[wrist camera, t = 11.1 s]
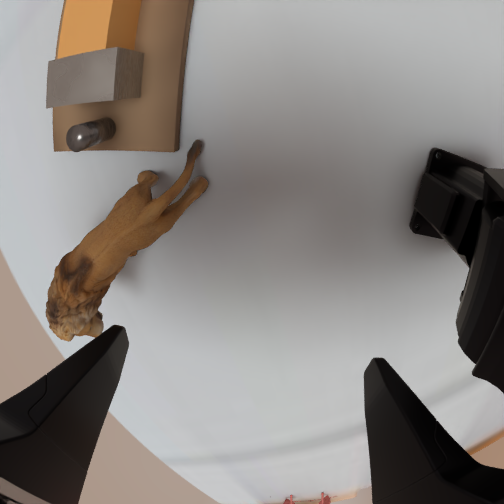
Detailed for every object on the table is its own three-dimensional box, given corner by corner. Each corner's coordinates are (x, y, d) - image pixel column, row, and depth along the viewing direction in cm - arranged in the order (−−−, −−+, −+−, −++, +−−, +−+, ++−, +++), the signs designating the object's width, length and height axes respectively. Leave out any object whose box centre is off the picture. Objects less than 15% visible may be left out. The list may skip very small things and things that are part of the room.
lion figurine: (127, 290, 24) (83, 366, 17) (82, 254, 23) (24, 321, 15) (231, 163, 18) (198, 219, 11) (169, 113, 17) (92, 133, 9)
